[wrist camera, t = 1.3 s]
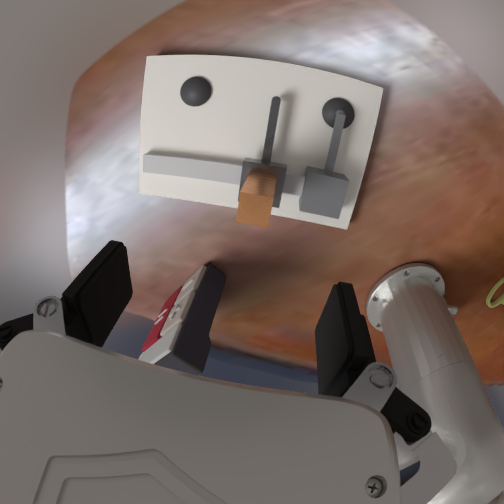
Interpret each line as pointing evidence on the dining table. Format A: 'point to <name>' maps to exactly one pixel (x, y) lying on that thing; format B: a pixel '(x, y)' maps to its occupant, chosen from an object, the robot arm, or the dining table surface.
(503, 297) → the key
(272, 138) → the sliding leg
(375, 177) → the dining table surface
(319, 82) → the gauge board
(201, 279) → the calculator
